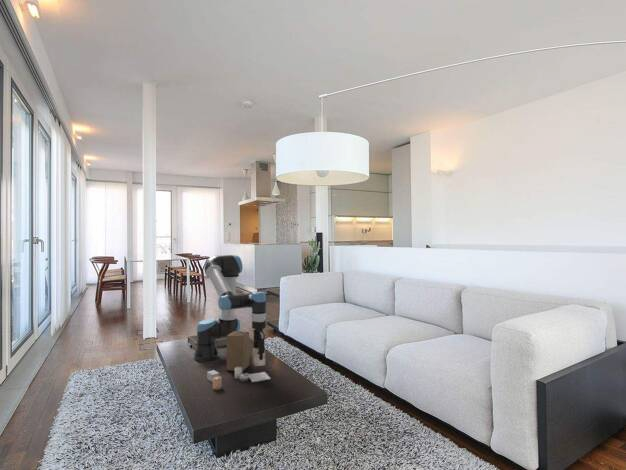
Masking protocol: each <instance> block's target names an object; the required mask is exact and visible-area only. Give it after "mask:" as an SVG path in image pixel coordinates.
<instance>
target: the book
mask: <svg viewBox="0 0 626 470" xmlns="http://www.w3.org/2000/svg"><path fill="white" fill-rule="evenodd" d="M188 343H190V344H191V345H192V347H191V348H192V349H193V350H194V351H195V350H196V347H197V334H195V335H190V336H187V344H188ZM216 346H217V348H221V347H227V338H223V339H216Z"/></svg>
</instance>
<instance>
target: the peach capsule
mask: <svg viewBox="0 0 626 470" xmlns="http://www.w3.org/2000/svg"><path fill="white" fill-rule="evenodd" d="M222 384H223V377H222V376H221V375H219V376H216V377H213V382H212V390H215V391H218V390H222V387H223V386H222Z"/></svg>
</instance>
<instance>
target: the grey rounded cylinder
mask: <svg viewBox="0 0 626 470" xmlns="http://www.w3.org/2000/svg"><path fill="white" fill-rule="evenodd" d="M241 373H243V371H242V367H235V371H234V378H235V379H236V380H237V379H238V380H239V374H241Z"/></svg>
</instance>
